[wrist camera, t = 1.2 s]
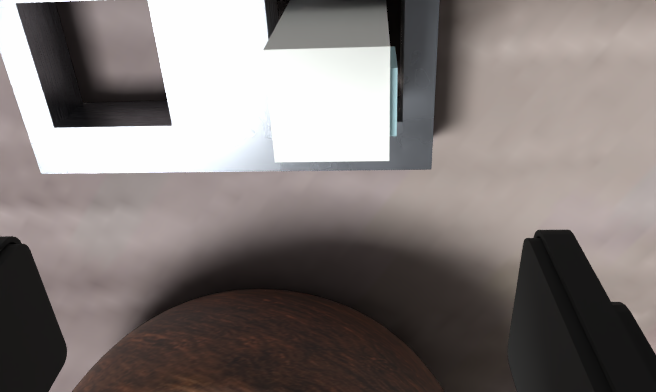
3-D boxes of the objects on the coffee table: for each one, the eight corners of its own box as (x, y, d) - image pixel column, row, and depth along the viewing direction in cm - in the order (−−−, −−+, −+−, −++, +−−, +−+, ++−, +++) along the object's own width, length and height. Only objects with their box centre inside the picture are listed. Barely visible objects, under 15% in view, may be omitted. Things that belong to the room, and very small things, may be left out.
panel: (435, -88, 23) (444, -79, 21) (426, 140, 28) (431, 171, 26) (6, -68, 25) (-40, -58, 22) (70, 145, 30) (39, 175, 27)
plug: (390, -8, 25) (398, 46, 18) (390, 81, 27) (396, 160, 20) (292, -5, 25) (263, 49, 18) (299, 83, 27) (274, 162, 20)
